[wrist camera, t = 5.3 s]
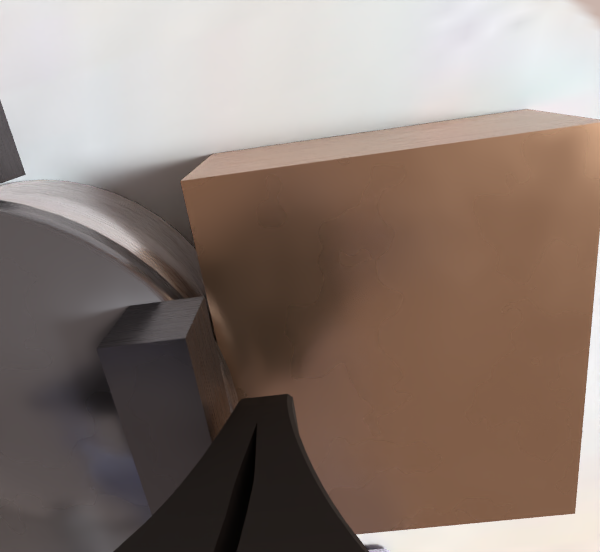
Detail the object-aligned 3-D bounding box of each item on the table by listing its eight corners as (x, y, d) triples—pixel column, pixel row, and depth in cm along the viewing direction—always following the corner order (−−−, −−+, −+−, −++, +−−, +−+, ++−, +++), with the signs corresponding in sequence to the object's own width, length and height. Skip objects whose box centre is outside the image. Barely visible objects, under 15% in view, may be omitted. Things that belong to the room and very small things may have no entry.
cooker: (516, 470, 21) (570, 569, 17) (3, 522, 22) (-67, 625, 18) (529, 20, 15) (620, -3, 10) (-187, 129, 16) (-362, 148, 12)
